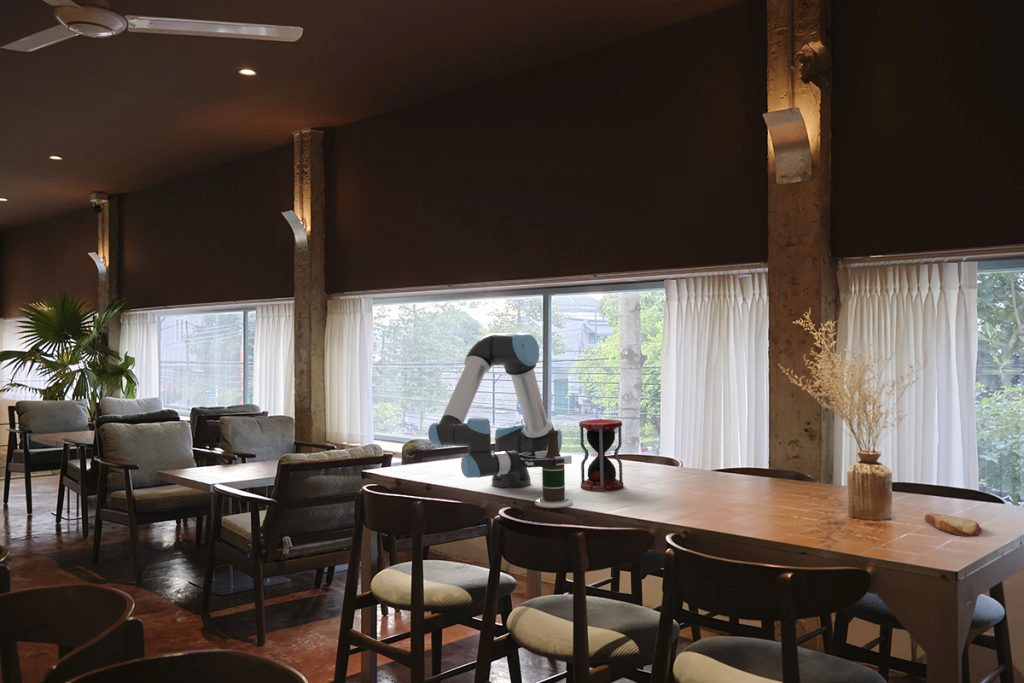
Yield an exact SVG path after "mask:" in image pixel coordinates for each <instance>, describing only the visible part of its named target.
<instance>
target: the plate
mask: <svg viewBox="0 0 1024 683" xmlns="http://www.w3.org/2000/svg"><path fill="white" fill-rule="evenodd" d="M537 499H540V502H537V503H536V502H535V501H534V504H535V506H537V507H540V508H544V509H545V508H546V509H547V508H548V509H557V508H558V509H559V508H566V507H569V506H570V507H571V506H572V505H573V504H574V502H573V501H574V500H573V498H571V497H567V496H565V499H564V500H562V501H556V502H551V501H545V500H544V499H543V496H541V497H538V498H537Z"/></svg>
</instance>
